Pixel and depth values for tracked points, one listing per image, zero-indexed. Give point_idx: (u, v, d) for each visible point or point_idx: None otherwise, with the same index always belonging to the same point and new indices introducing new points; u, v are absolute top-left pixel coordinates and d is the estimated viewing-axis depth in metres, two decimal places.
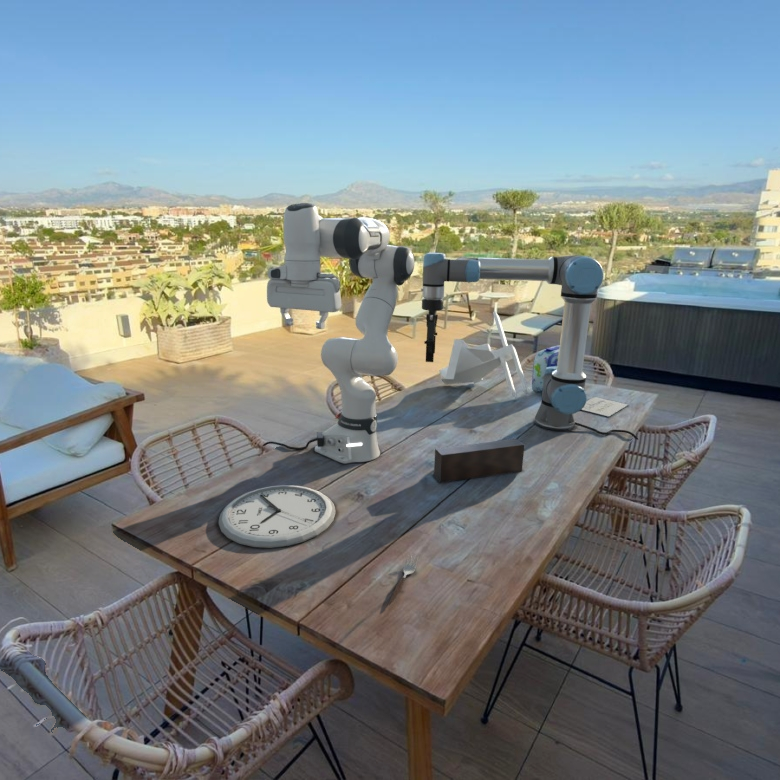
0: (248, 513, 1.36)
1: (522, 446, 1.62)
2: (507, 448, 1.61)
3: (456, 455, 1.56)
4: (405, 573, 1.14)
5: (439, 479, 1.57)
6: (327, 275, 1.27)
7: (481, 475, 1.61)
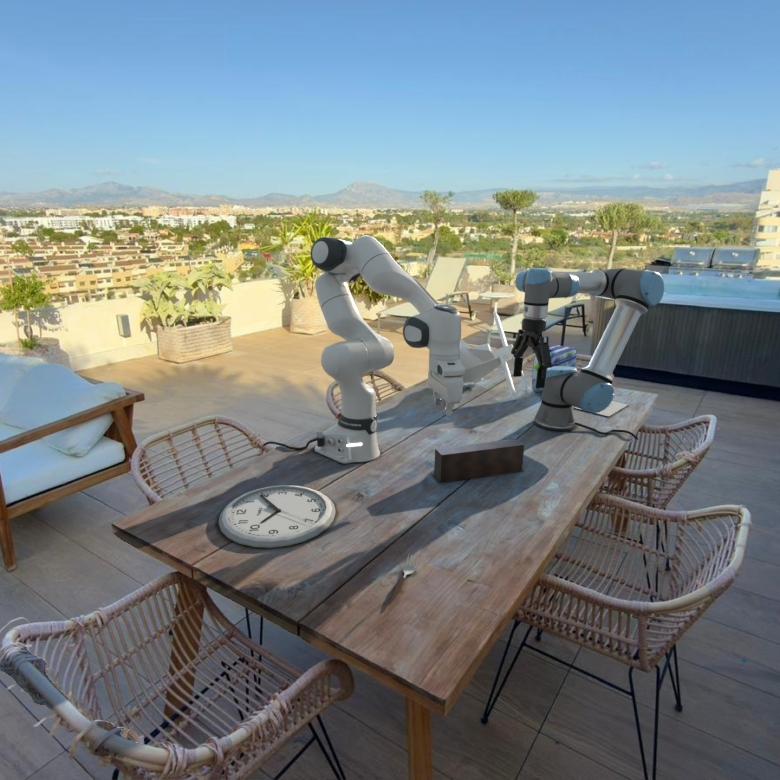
0: (248, 513, 1.36)
1: (522, 446, 1.62)
2: (507, 448, 1.61)
3: (456, 455, 1.56)
4: (405, 573, 1.14)
5: (439, 479, 1.57)
6: None
7: (481, 475, 1.61)
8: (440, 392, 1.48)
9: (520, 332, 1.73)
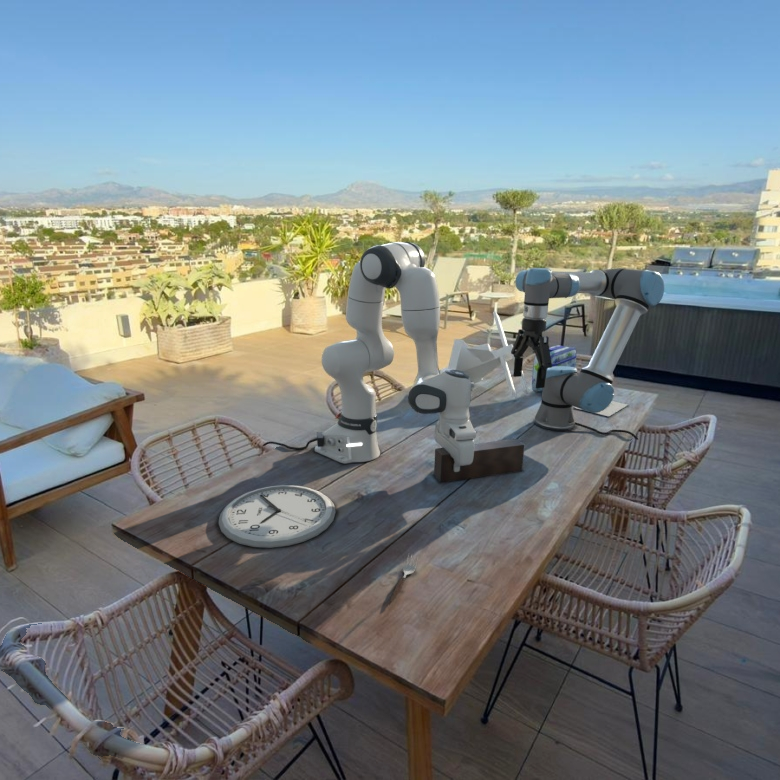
0: (248, 513, 1.36)
1: (522, 446, 1.62)
2: (507, 448, 1.61)
3: None
4: (405, 573, 1.14)
5: (439, 479, 1.57)
6: None
7: (481, 475, 1.61)
8: (450, 452, 1.55)
9: (520, 332, 1.73)
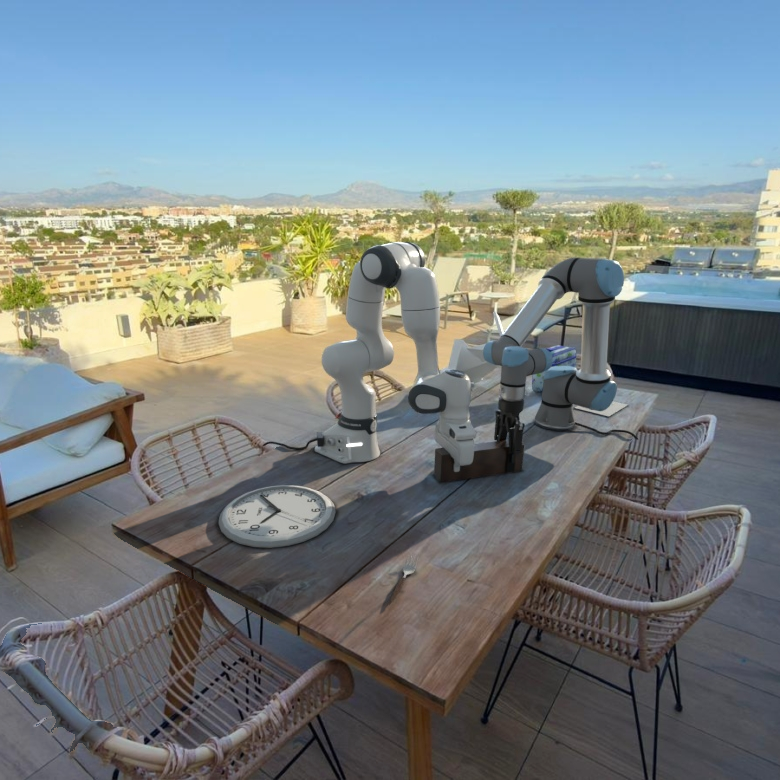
0: (248, 513, 1.36)
1: (522, 446, 1.62)
2: (507, 448, 1.61)
3: None
4: (405, 573, 1.14)
5: (439, 479, 1.57)
6: None
7: (481, 475, 1.61)
8: (450, 452, 1.55)
9: (497, 413, 1.65)
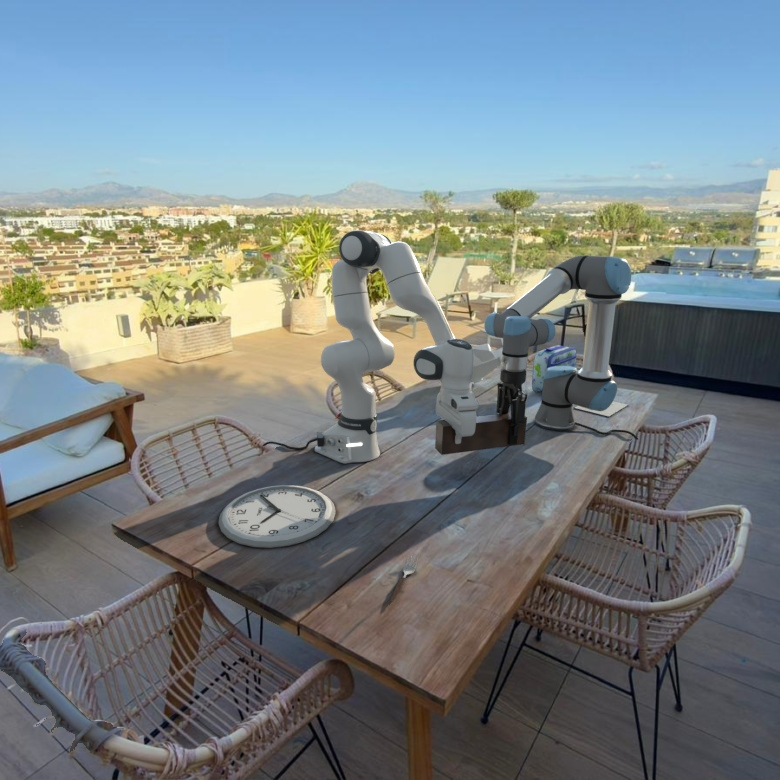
0: (248, 513, 1.36)
1: (525, 419, 1.60)
2: (510, 420, 1.58)
3: None
4: (405, 573, 1.14)
5: (440, 451, 1.55)
6: None
7: (483, 448, 1.58)
8: (451, 423, 1.52)
9: (499, 385, 1.63)
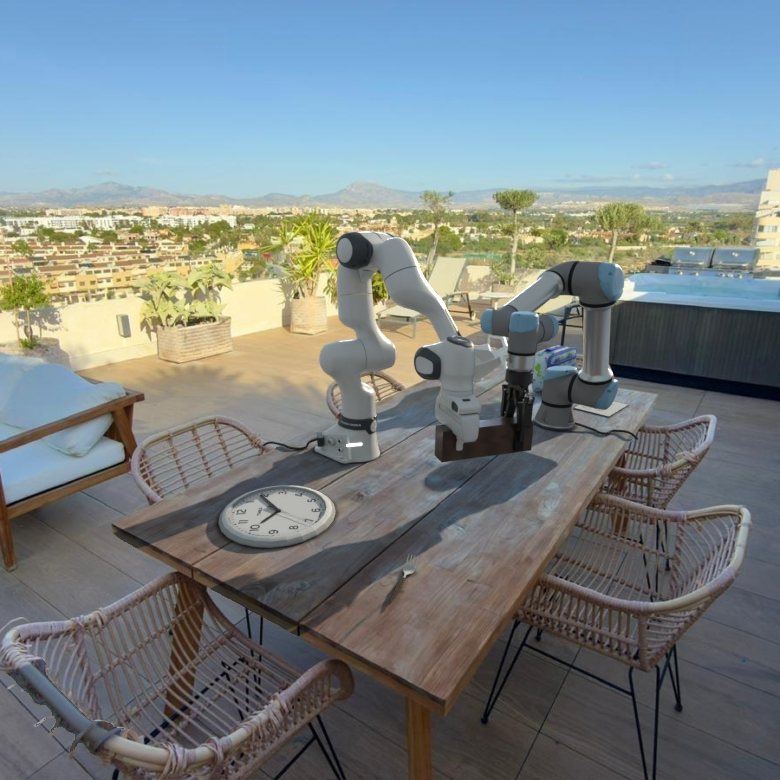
0: (248, 513, 1.36)
1: (531, 422, 1.47)
2: (515, 424, 1.46)
3: None
4: (405, 573, 1.14)
5: (440, 459, 1.42)
6: None
7: (487, 454, 1.46)
8: (452, 428, 1.40)
9: (504, 387, 1.50)
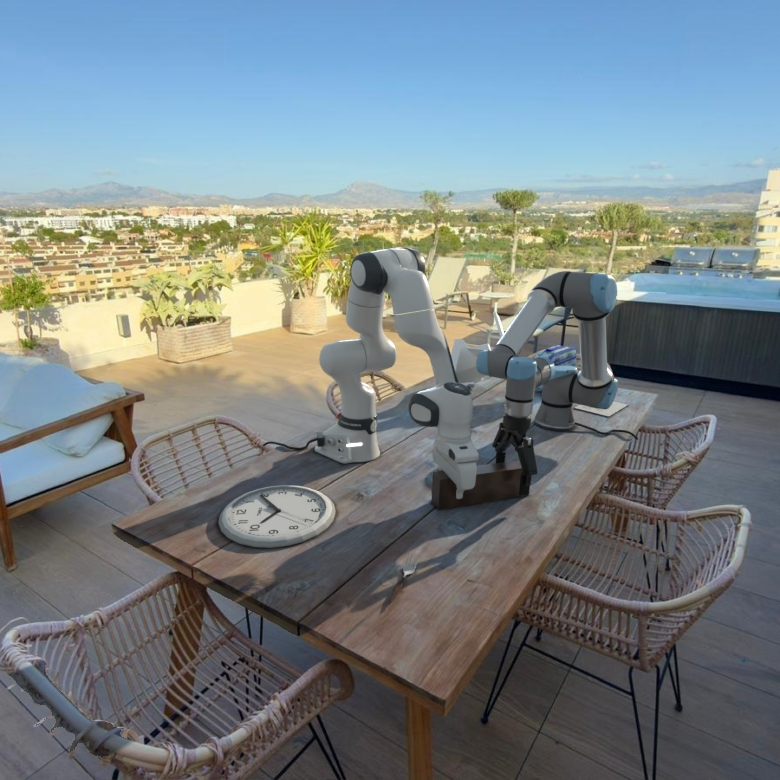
0: (248, 513, 1.36)
1: None
2: (512, 471, 1.46)
3: None
4: (405, 573, 1.14)
5: (437, 506, 1.42)
6: None
7: (483, 501, 1.46)
8: (449, 474, 1.39)
9: (502, 426, 1.50)
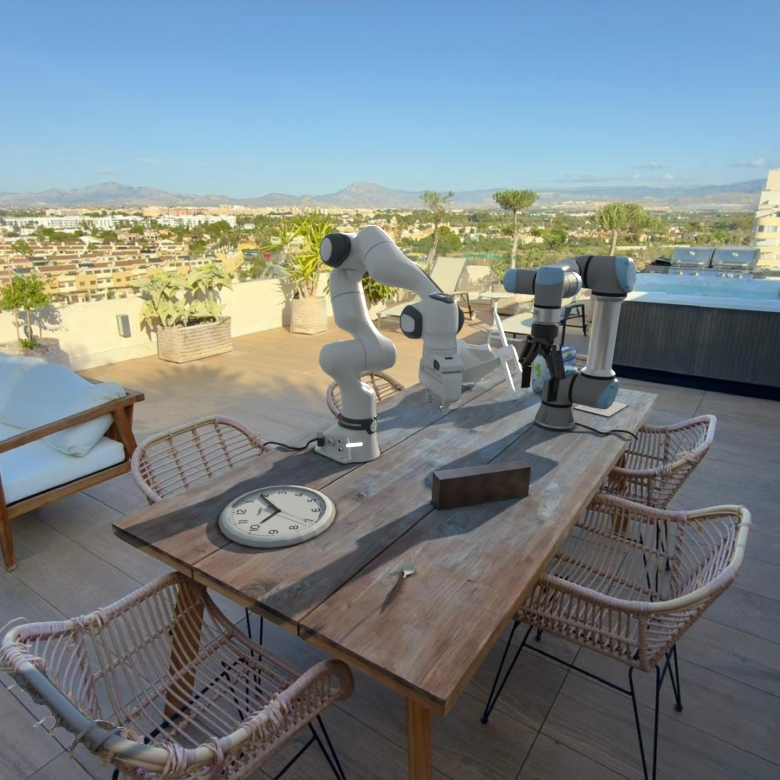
0: (248, 513, 1.36)
1: (529, 468, 1.47)
2: (512, 471, 1.46)
3: (456, 480, 1.40)
4: (405, 573, 1.14)
5: (437, 506, 1.42)
6: None
7: (483, 501, 1.46)
8: (434, 389, 1.35)
9: (529, 338, 1.54)
